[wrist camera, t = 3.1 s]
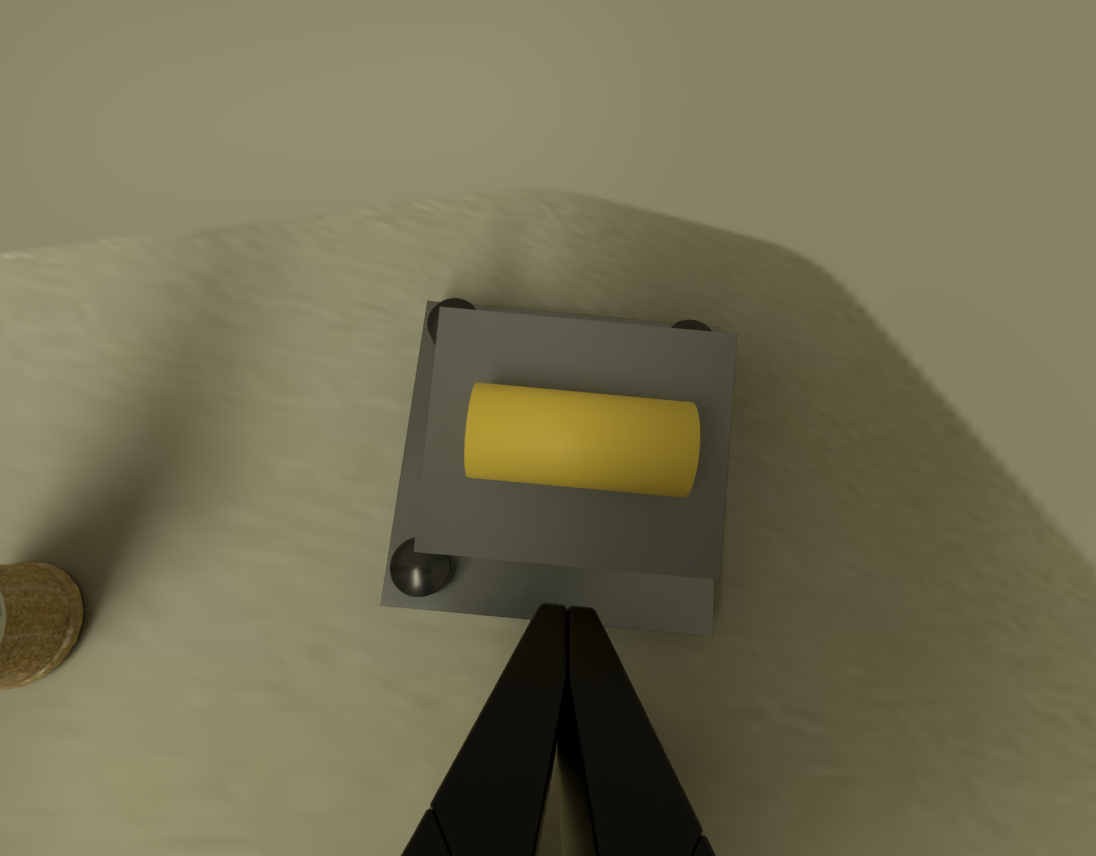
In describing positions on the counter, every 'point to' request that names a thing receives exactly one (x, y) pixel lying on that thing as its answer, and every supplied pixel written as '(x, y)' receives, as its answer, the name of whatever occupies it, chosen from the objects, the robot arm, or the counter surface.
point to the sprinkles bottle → (36, 621)
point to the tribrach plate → (523, 583)
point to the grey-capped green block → (577, 443)
